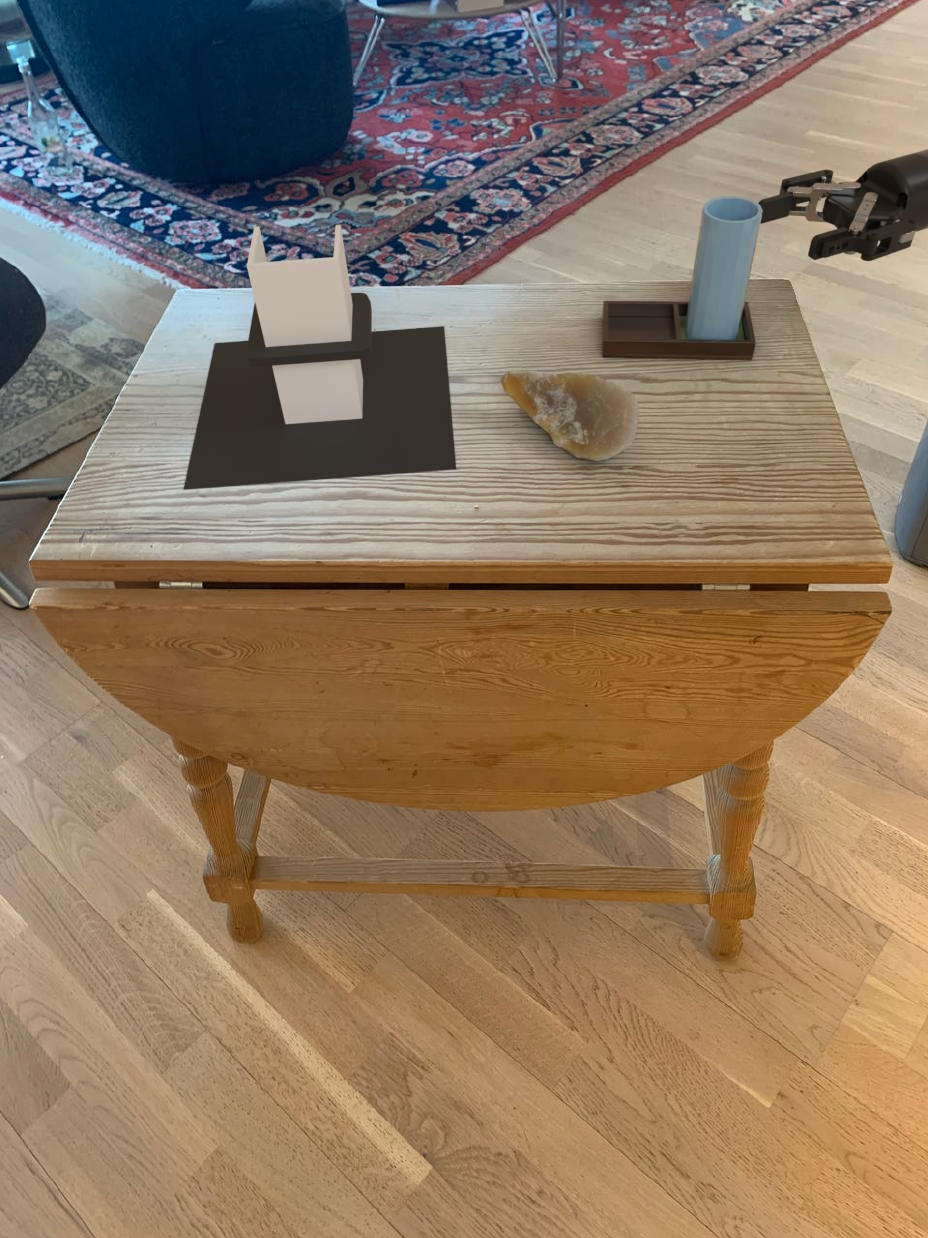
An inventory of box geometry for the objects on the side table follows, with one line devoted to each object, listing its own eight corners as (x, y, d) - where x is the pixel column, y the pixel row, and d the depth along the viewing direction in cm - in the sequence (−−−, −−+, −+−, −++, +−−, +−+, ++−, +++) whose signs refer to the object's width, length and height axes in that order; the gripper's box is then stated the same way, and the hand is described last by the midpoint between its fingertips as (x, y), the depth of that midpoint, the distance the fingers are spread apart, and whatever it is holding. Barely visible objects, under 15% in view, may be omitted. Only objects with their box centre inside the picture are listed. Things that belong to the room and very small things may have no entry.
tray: (602, 317, 100) (603, 300, 99) (744, 318, 99) (748, 301, 97) (602, 357, 95) (603, 340, 94) (752, 360, 94) (756, 342, 92)
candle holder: (444, 325, 101) (433, 172, 88) (456, 468, 85) (445, 305, 72) (214, 342, 100) (172, 191, 88) (183, 489, 84) (126, 328, 72)
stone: (634, 411, 78) (487, 352, 84) (615, 478, 82) (475, 417, 87) (667, 390, 83) (526, 335, 89) (647, 453, 87) (513, 397, 93)
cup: (732, 317, 98) (756, 194, 88) (742, 346, 95) (767, 221, 85) (681, 319, 98) (699, 197, 89) (688, 347, 95) (708, 223, 85)
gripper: (877, 129, 97) (747, 164, 93) (980, 182, 88) (842, 222, 84) (858, 201, 102) (734, 236, 98) (953, 257, 93) (821, 298, 90)
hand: (784, 230), depth 91 cm, fingers open, 8 cm apart
